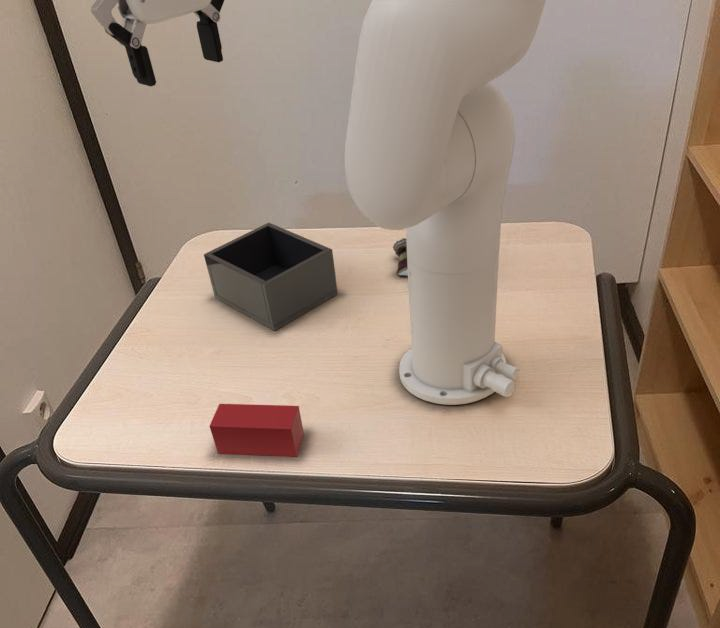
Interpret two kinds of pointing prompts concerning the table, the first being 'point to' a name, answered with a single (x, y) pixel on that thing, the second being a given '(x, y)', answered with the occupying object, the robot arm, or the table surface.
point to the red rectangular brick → (257, 429)
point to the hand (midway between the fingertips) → (181, 72)
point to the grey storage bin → (272, 275)
